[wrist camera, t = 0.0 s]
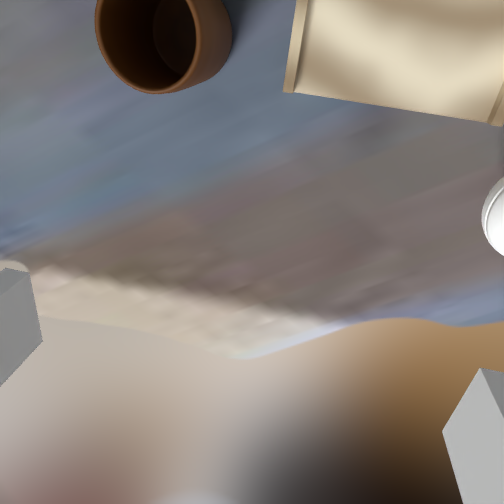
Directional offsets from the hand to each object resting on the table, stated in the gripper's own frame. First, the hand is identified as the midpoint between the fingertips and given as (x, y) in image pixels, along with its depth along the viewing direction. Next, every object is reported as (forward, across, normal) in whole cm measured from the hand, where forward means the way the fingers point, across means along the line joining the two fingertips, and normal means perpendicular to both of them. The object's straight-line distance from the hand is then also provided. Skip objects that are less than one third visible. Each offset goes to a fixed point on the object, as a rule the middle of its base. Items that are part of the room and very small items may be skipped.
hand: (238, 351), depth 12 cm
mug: (+28, -11, +9) cm, 32 cm away
